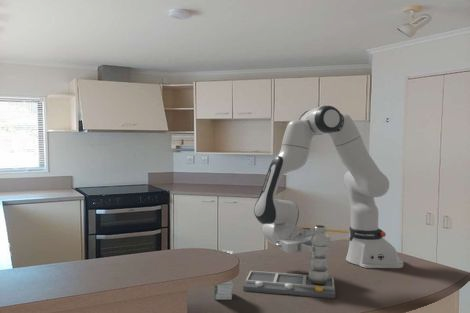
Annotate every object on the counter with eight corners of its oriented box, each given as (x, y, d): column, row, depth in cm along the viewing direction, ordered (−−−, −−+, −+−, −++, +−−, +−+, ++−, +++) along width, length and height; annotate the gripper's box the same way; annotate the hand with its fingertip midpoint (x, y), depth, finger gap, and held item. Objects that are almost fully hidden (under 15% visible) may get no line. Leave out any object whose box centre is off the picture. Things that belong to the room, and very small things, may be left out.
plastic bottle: (306, 280, 139) (307, 224, 138) (324, 279, 140) (325, 224, 139) (312, 287, 133) (313, 228, 131) (331, 286, 134) (332, 228, 132)
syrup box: (215, 292, 132) (215, 250, 131) (233, 293, 131) (233, 250, 131) (214, 299, 126) (214, 255, 125) (232, 300, 126) (232, 255, 125)
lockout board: (333, 282, 141) (333, 275, 141) (335, 298, 127) (335, 290, 127) (250, 276, 147) (250, 269, 147) (243, 290, 133) (243, 282, 133)
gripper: (272, 234, 141) (298, 243, 129) (313, 227, 152) (341, 235, 140) (272, 251, 141) (298, 262, 129) (313, 243, 152) (341, 252, 141)
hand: (321, 248), depth 135 cm, fingers closed on plastic bottle, 6 cm apart
